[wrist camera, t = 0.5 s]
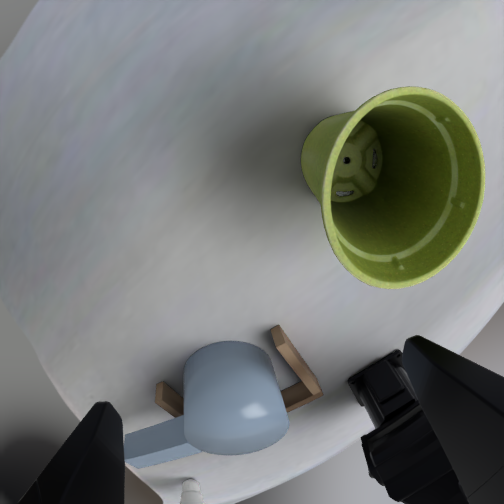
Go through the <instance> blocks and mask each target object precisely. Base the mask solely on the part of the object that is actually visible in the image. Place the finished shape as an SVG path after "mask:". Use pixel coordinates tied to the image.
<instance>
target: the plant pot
mask: <svg viewBox="0 0 504 504" xmlns="http://www.w3.org/2000/svg"><path fill="white" fill-rule="evenodd" d="M373 149H374V150H375V151H376V155H377V164H376V166H375V168H372V163H373V153H374V152H373ZM345 157H349V158H350V162H349V163H348V164H345V163H344V162H343V159H344V158H345ZM301 167H302V172H303V175H304V178H305V180H306V182H307V184H308V186H309V188H310V189H311V191H312V192H313V194H314V195H315V196H316V198H317V200H318V201H319V203H320V204H321V212H322V218H323V224H324V228H325V231H326V235H327V238H328V241H329V243H330V245H331V247H332V250H333V252H334V254H335V255H336V257H337V258H338V260H339V261H340V263H341V264H342V265H343V266H344V267H345V268H346V269H347V270H348V271H349V272H350V273H351V274H352V275H353V276H354V277H356V278H357V279H358V280H360V281H362V282H364V283H366V284H368V285H370V286H374V287H378V288H385V289H400V288H405V287H409V286H413V285H416V284H419V283H421V282H423V281H426V280H427V279H429V278H430V277H432V276H434V275H435V274H437V273H438V272H439V271H441V270H442V269H443V268H445V267H446V266H447V265H448V264H449V263H450V262H451V261H452V260H453V259H454V258H455V257H456V255H457V254H458V253H459V252H460V251H461V249H462V248H463V246H464V245H465V243H466V242H467V240H468V238H469V237H470V235H471V233H472V231H473V229H474V227H475V224H476V222H477V220H478V216H479V214H480V210H481V206H482V203H483V198H484V190H485V163H484V158H483V153H482V148H481V144H480V141H479V138H478V136H477V133H476V131H475V129H474V127H473V125H472V123H471V122H470V120H469V118H468V117H467V116H466V115H465V113H464V112H463V111H462V110H461V109H460V108H459V107H458V106H457V105H456V104H455V103H454V102H453V101H451V100H450V99H449V98H447V97H446V96H444V95H443V94H441V93H439V92H436V91H434V90H431V89H427V88H422V87H400V88H395V89H390V90H387V91H384V92H382V93H380V94H378V95H376V96H374V97H372V98H371V99H369V100H368V101H366V102H365V103H364V104H362V105H361V106H360V107H359V108H358V109H357V110H356V111H352V112H347V113H343V114H339V115H335V116H331V117H328V118H326V119H324V120H323V121H321V122H320V123H319V124H318V125H317V126H316V127H315V128H314V129H313V130H312V131H311V132H310V134H309V135H308V136H307V138H306V140H305V142H304V145H303V148H302V153H301ZM337 191H343V192H347V191H354V192H353V194H352V195H349V196H338V195H337V194H336V192H337Z"/></svg>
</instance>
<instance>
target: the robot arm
mask: <svg viewBox="0 0 504 504" xmlns="http://www.w3.org/2000/svg"><path fill="white" fill-rule="evenodd" d="M348 384H349V386H350V388H351V390H352V391H353V393H354V395H355V397H356V398H357V400H358V402H359V404H360V405H361V406H365V408H366V410H367V412H368V414H369V416H370V418H371V420H372V422H373V424H374V426H375V428H376V429H375V430H373V431H371V432H370V433H368V434H367V435H363V436H362V437H361V440H362V447H363V451H364V454H365V458H366V461H367V465H368V470H369V476H370V477H371V478H375V479H376V480H377V481H378V483H379V484H380V485H382V486H385V488H386V490H387V493H388V495H389V497H390V498H392V499H393V500H395V501H397V502H400V501H401V502H403V503H405V504H504V377H503V376H501V375H499V374H497V373H495V372H493V371H491V370H488V369H486V368H484V367H482V366H480V365H478V364H476V363H474V362H472V361H470V360H468V359H466V358H464V357H462V356H460V355H458V354H456V353H454V352H452V351H450V350H448V349H446V348H444V347H442V346H440V345H438V344H436V343H434V342H432V341H430V340H428V339H426V338H424V337H422V336H419V335H416V336H413V337H410V338H408V339H407V340H406V341H405V345H404V349H403V353H402V352H401V351H400V350H397V351H395V352H394V353H392V354H391V355H389V356H387V357H386V358H384V359H382V360H381V361H379V362H377V363H376V364H374V365H372V366H371V367H369V368H367V369H366V370H364V371H362V372H360V373H359V374H357V375H355V376H353V377H351V378H350V379H349V380H348ZM124 482H125V458H124V444H123V424H122V419H121V417H120V415H119V414H118V413H117V411H116V410H115V409H114V407H113V406H112V405H111V403H110V402H107V401H104V402H97V403H95V404H94V406H93V407H92V408H91V409H90V411H89V412H88V413H87V414H86V416H85V417H84V418H83V419H82V421H81V422H80V423H79V424H78V426H77V427H76V428H75V430H74V431H73V432H72V433H71V435H70V436H69V437H68V439H67V440H66V441H65V442H64V444H63V445H62V446H61V448H60V449H59V450H58V451H57V453H56V454H55V455H54V457H53V458H52V459H51V461H50V462H49V463H48V465H47V466H46V467H45V469H44V470H43V471H42V472H41V474H40V475H39V476H38V478H37V481H35V482H34V483H33V484H32V486H31V487H30V488H29V490H28V491H27V492H26V493H25V495H24V496H23V497H22V498H21V499H20V501H19V502H18V503H17V504H124Z"/></svg>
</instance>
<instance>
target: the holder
mask: <svg viewBox="0 0 504 504" xmlns="http://www.w3.org/2000/svg"><path fill="white" fill-rule="evenodd" d="M270 330H271V333H272V336H273V339H274V343H275V346H276V348H277V349H278V351H279V352H280V353H281V355H282V356H283V357H284V358H285V360H286V361H287V362H288V364H289V365H290V366H291V368H292V369H293V370H294V371H295V373H296V374H297V375H298V377H299V378H300V379H301V380H302V381H301V382H299V383H297V384H295V385H293V386H291V387H289V388H287V389H285V390H283V391H281V395H282V398H283V402H284V405H285V409H286V412H290V411H292V410H294V409H296V408H298V407H300V406H303V405H305V404H307V403H309V402H311V401H313V400H315V399H317V398H319V397H321V396H323V392H322V390H321V387H320V385H319V383H318V380H317V378H316V377H315V375H314V374H313V373H312V371H311V370H310V368H309V367H308V365H307V364H306V363H305V361H304V360H303V358H302V357H301V356H300V354H299V353H298V351H297V350H296V348H295V347H294V346H293V344H292V343H291V341H290V340H289V338H288V337H287V336H286V334H285V333H284V331H283V330H282V328H281V327H280V325H278V326H276V327H274V328H272V329H270ZM155 403H156V404H158V405H159V406H160V407H162V408H163V409H164V410H166V411H167V412H168V413H170V414H171V415H172V416H174V417H175V418H176V417H179V416H182V415H184V398H182V397H181V396H180V395H179V394H177V393H176V392H175V391H174V390H173V389H171V388H170V387H169V386H168V385H167V384H165V383H164V382H161V383H158V384H156V396H155Z"/></svg>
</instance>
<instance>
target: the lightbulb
mask: <svg viewBox="0 0 504 504" xmlns="http://www.w3.org/2000/svg"><path fill="white" fill-rule="evenodd" d="M180 504H205V503H204V500H203V495H202V494H201V491H200V484H199V482H197V481H195V480H194V479H188V480H187V481H184V482H183V484H182V494H181V501H180Z"/></svg>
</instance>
